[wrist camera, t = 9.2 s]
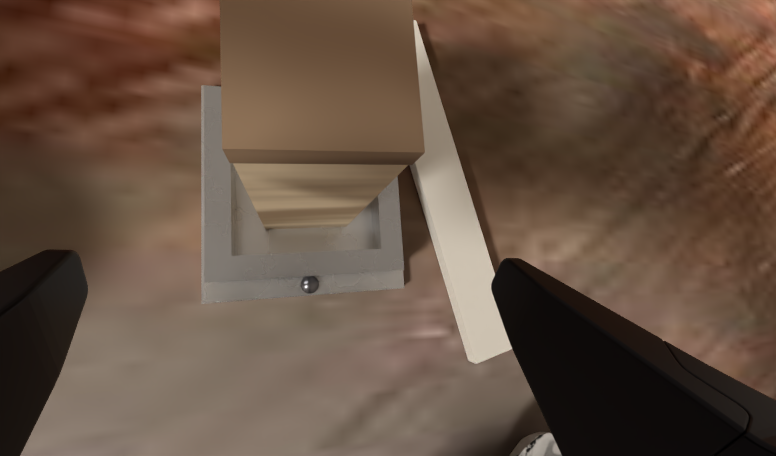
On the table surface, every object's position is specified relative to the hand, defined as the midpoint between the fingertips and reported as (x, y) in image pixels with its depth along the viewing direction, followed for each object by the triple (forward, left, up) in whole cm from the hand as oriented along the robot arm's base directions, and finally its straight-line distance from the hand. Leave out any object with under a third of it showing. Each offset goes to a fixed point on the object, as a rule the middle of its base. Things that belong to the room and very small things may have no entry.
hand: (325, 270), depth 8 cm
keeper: (+4, -3, -14) cm, 14 cm away
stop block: (+4, -3, -13) cm, 14 cm away
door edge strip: (0, -10, -14) cm, 17 cm away
